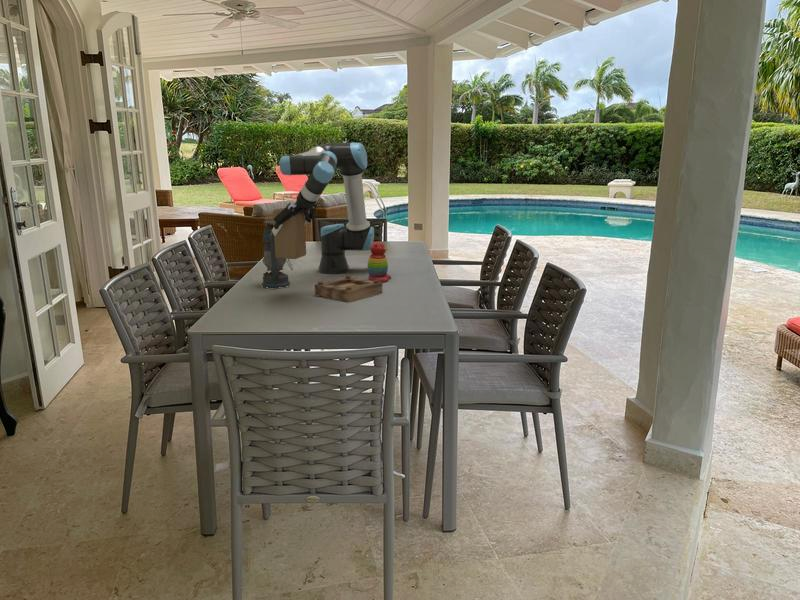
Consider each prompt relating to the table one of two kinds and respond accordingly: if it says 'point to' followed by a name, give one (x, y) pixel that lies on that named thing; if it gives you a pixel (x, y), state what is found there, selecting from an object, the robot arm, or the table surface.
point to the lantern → (273, 261)
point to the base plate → (348, 297)
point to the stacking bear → (378, 263)
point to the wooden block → (290, 237)
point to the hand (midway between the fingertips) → (286, 231)
